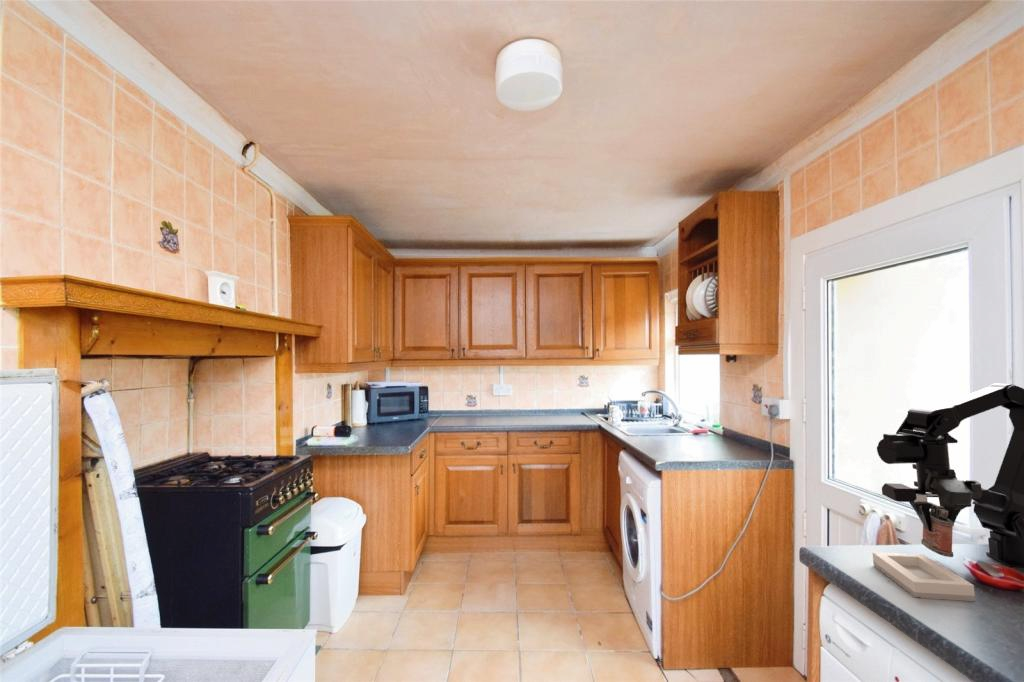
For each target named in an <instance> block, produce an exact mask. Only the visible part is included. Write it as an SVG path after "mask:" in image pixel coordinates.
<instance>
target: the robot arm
mask: <svg viewBox="0 0 1024 682" xmlns="http://www.w3.org/2000/svg"><path fill="white" fill-rule="evenodd" d="M998 407H1002V408H1005V409H1006V410H1009V413H1008V417H1009V419H1010V422H1011V424H1012V426H1013V431H1012V433H1011V436H1010V439H1009V442H1008V445H1007V448H1006V451H1005V452H1004V453H1005V454H1004V456H1003V460H1002V461H1001V465H1000V468H999V470H998V473H997V476H996V478H995V481H994V484H993V485H992V486H991V487H989V488H988V489H985V488H984V487H983V488H982V483H980V482H979V481H977V480H972V479H971V480H969V479H968V480H960V479H958V478H957V474H956V472H955V469H953V468H951V467H950V466H951V465H950V455H949V444H958V439H956V438H955V437H954V436H951V434H949V433H950V432H952V431H954V430H955V429H957V428H959V426H960V424H961V422H963V421H964V420H967V419H968V418H971V417H974V416H976V415H979V414H981V413H984V412H987V411H990V410H992V409H996V408H998ZM882 436H883V437H882V439H880V440H879V441H878V444H877V446H876V452H877V455H878V456H879V459H880V460H881V461H882V462H884V463H885V464H888V465H895V464H897V465H898V464H902V465H903V464H912V469H914V470H916V478H917V479H916V480H917V481H916V480H915V481H914V480H913V485H914V487H915V488H914V487H910V486H907V485H905V484H904V483H884V484H883V485H882V486H881V493H882V494H881V495H883V496H884V497H887V498H889V499H891V500H893V501H896V502H899V503H908V504H910V506H911V508H912V509H913V510H914V512H915V513H916V515H917V516H918V518H919V520H920V522H921V523H922V526H923V525H924V527H925V528H926V530H928V531H931V527H932V525H931V517H930V510H931V509H930V508H931V507H932V505H933V504H934V503H933V504H931V503H932V502H931V503H929V502H930V501H928V498H938V501H939V506H943V507H944V508H945V510H947V511H948V517H947V518H948V519H949V520H951V521H953V522H954V524H955V522H956V520H957V518H958V515H959V514H960V512H961V511H962V510H965V509H966V508H972V505H973V513H974V514H975V515H976V517H977V519H978V521H979V523H980V525H981V527H982V528H984V529H988V530H989V537H988V551H989V552H985V555H986V556H988V557H990V558H992V559H994V560H996V561H997V562H1000V563H1002V564H1003V565H1005V566H1008V567H1010V568H1011V567H1015V568H1024V388H1023V387H1020V386H1018V385H1015V384H1011V383H992V384H989V385H987V386H986V387H983V388H982V389H979V390H976V391H973V392H971V393H968V394H965V395H963V396H959V397H956V398H954V399H952V400H949V401H946V402H942V403H936V404H925V405H919V406H915V407H912V408H910V409H908V411H907V414H906V417H905V419H904V420H903V422H902V423H901V425H900V426H899V427H898V429H897V430H896V433H894V434H892V433H883V434H882ZM972 500H973V501H972Z"/></svg>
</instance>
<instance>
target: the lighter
mask: <svg viewBox="0 0 1024 682" xmlns="http://www.w3.org/2000/svg"><path fill="white" fill-rule="evenodd" d="M928 502H929V503H931V504H933V505H932V507H931V508H930V517H931V525H932V527H931V531H928V530H926V528H925V527H924V525H923V524H922V538H921V539H920V540H921V545H923V546H924V547H925V548H927V549H928V550H929V551H932V552H933V553H935V554H937V555H940V556H943V557H947V558H954V552H953V531H954V530H953V529H954V528H953V527H955V523H954V522H953V521H951V520H949V519H948V518H947V517H948V511H947V510H945V508H944V507H943V506H940V505H937V504H936V503H933V502H930V501H928Z"/></svg>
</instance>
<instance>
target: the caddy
mask: <svg viewBox="0 0 1024 682" xmlns="http://www.w3.org/2000/svg"><path fill="white" fill-rule="evenodd" d="M872 560H873V567H875V568H876V569H877V570H879V571H880V570H881V571H882V572H881V571H880V572H881V573H883V574H884V573H885V574H886V575H885V574H884V575H885V576H886V577H888V576H889V577H890V578H889V577H888V578H889V579H890V580H891V581H893V580H894V581H895V582H894V581H893V582H894V583H896V584H897V583H898V584H899V585H898V584H897V585H898V586H900V587H901V588H902V587H903V588H902V589H903V590H905V591H906V592H907V591H908V592H907V593H909V594H910V595H911V596H913V597H914V598H917V597H921V599H932V600H933V599H934V600H953V601H967V602H975V601H976V595H975V585H974V584H972V583H971V582H969V581H967V580H966V579H965V578H962V577H961V576H959V575H957V573H954V572H952V571H951V570H949V569H948V568H946V567H945V566H943V565H941V564H940V563H938V562H937V561H935V560H933V559H932V558H930V557H928V556H927V555H925V554H919V553H917V554H916V553H895V552H894V553H893V552H880V551H879V552H876V551H875V552H874V551H873V552H872Z"/></svg>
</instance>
